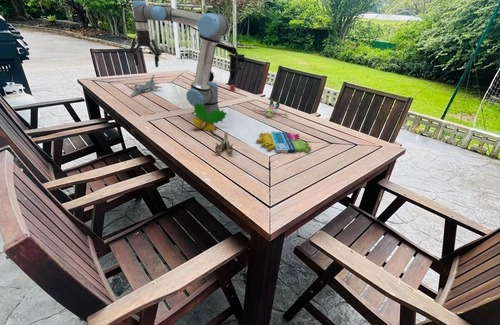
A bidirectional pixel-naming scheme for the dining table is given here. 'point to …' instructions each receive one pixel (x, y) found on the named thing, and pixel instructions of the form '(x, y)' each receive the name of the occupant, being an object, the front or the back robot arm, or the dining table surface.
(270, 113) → the toy
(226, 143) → the jawbone
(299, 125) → the dining table surface
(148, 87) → the airplane
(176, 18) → the front robot arm
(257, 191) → the dining table surface
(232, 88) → the canister
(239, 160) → the dining table surface
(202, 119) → the ornament
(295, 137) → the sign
